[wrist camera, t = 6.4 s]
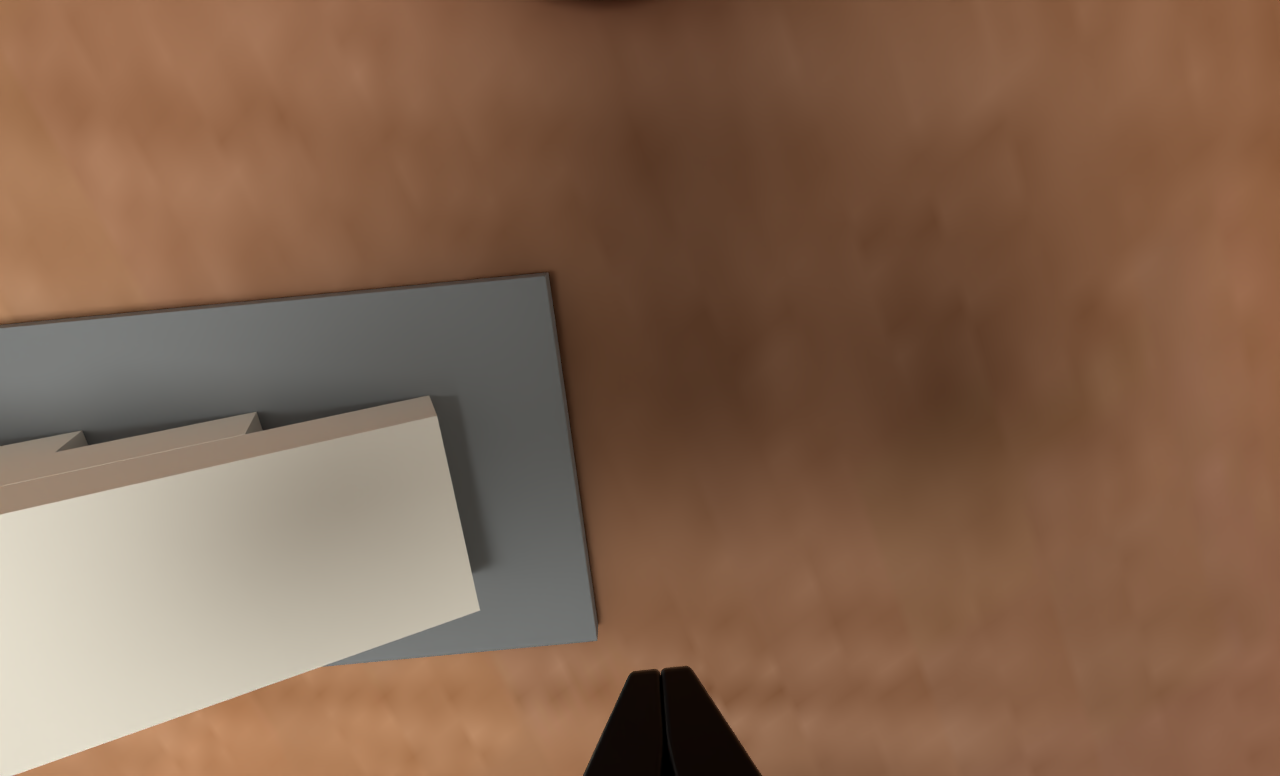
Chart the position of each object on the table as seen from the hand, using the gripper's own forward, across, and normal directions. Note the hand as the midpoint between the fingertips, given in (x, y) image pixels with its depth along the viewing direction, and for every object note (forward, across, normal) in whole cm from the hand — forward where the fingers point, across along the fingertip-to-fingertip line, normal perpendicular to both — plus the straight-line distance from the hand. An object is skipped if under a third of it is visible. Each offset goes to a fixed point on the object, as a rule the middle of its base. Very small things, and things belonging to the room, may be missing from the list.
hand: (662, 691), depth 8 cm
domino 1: (+6, +4, 0) cm, 8 cm away
